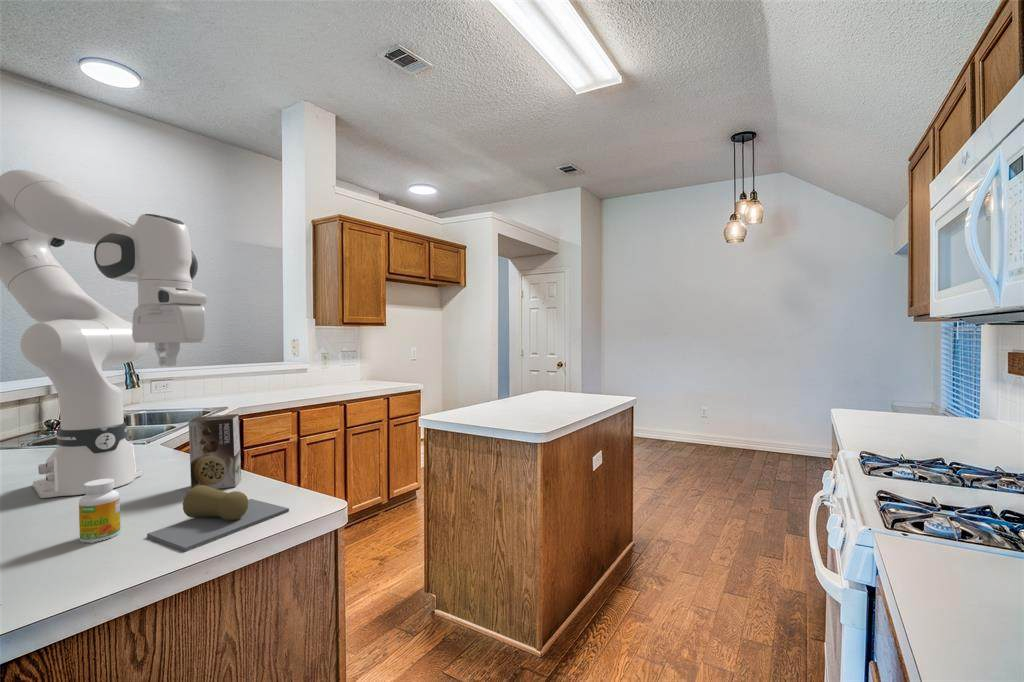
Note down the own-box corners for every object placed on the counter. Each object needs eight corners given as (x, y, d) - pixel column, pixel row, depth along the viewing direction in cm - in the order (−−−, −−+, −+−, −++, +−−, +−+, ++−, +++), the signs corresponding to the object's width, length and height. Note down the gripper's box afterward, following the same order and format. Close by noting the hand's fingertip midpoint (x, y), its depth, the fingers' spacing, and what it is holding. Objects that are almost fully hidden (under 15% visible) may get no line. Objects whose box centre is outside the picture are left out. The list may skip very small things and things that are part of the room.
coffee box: (242, 479, 114) (240, 413, 114) (235, 487, 108) (234, 417, 108) (198, 483, 111) (197, 415, 111) (189, 492, 105) (187, 420, 105)
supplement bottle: (74, 546, 79) (73, 488, 79) (85, 534, 84) (84, 480, 83) (115, 539, 81) (114, 483, 81) (124, 528, 86) (122, 475, 86)
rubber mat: (147, 537, 82) (147, 533, 82) (251, 501, 99) (251, 498, 99) (185, 551, 76) (185, 547, 76) (289, 511, 93) (288, 508, 93)
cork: (186, 524, 89) (228, 530, 85) (179, 494, 88) (222, 499, 84) (215, 507, 94) (256, 513, 90) (209, 479, 93) (251, 484, 90)
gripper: (121, 298, 96) (123, 365, 96) (176, 293, 87) (178, 368, 87) (156, 299, 102) (158, 363, 102) (211, 295, 92) (213, 365, 92)
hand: (167, 365), depth 94 cm, fingers closed
